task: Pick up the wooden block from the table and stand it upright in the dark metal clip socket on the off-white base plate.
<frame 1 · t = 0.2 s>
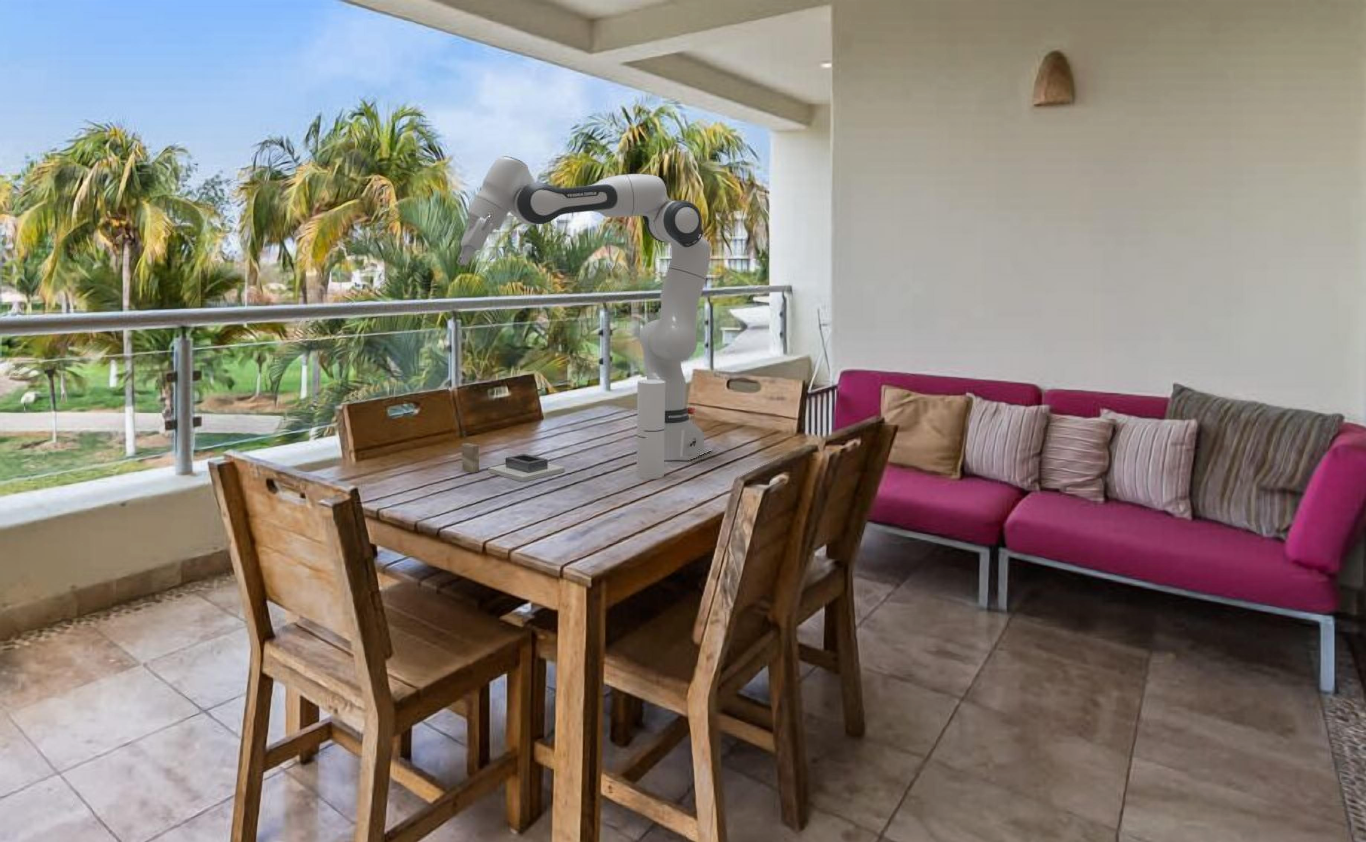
hand: (461, 264, 206), 54 cm above the table, tool tilted 30°, fingers open, 8 cm apart
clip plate: (526, 472, 215), on the table
cylindrical container: (650, 476, 214), on the table
clip socket: (526, 463, 215), on the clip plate, point 2 cm above the table
wooden block: (470, 470, 216), on the table
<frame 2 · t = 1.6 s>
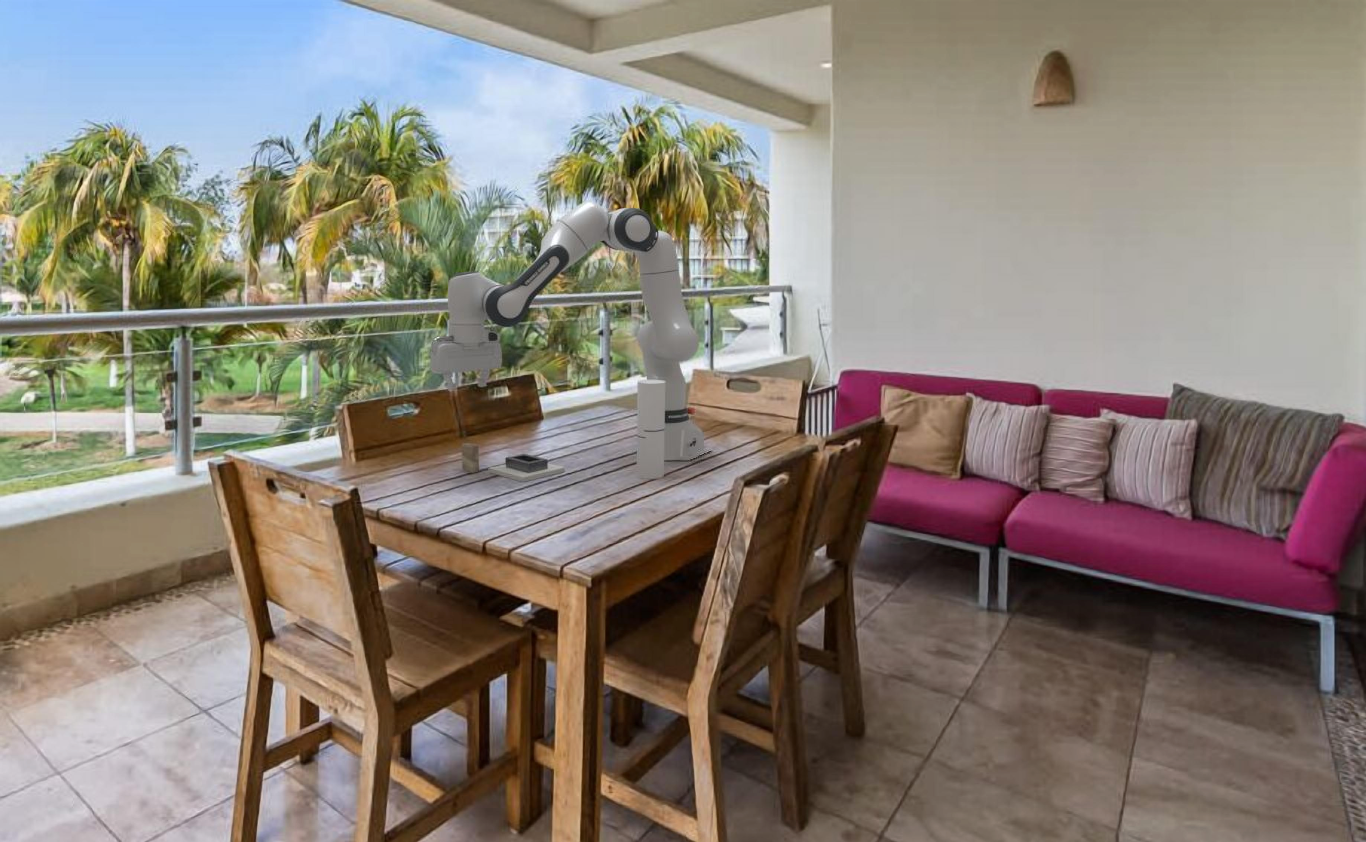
hand: (467, 388, 212), 22 cm above the table, tool pointing down, fingers open, 8 cm apart
nothing on the table moved.
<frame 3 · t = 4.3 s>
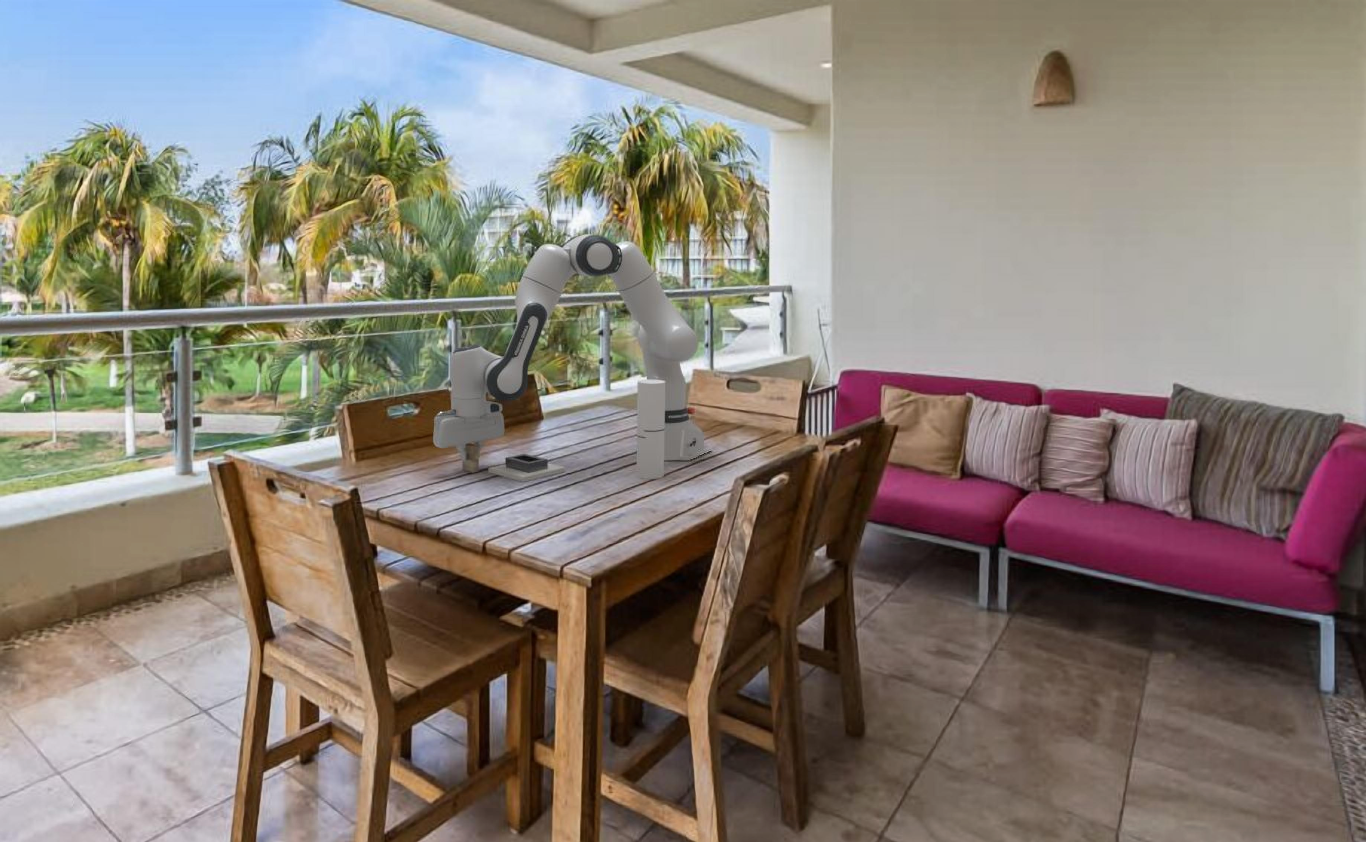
hand: (470, 459, 215), 3 cm above the table, tool pointing down, fingers closed on wooden block, 2 cm apart
wooden block: (470, 470, 216), on the table, touching gripper
everything else where it was.
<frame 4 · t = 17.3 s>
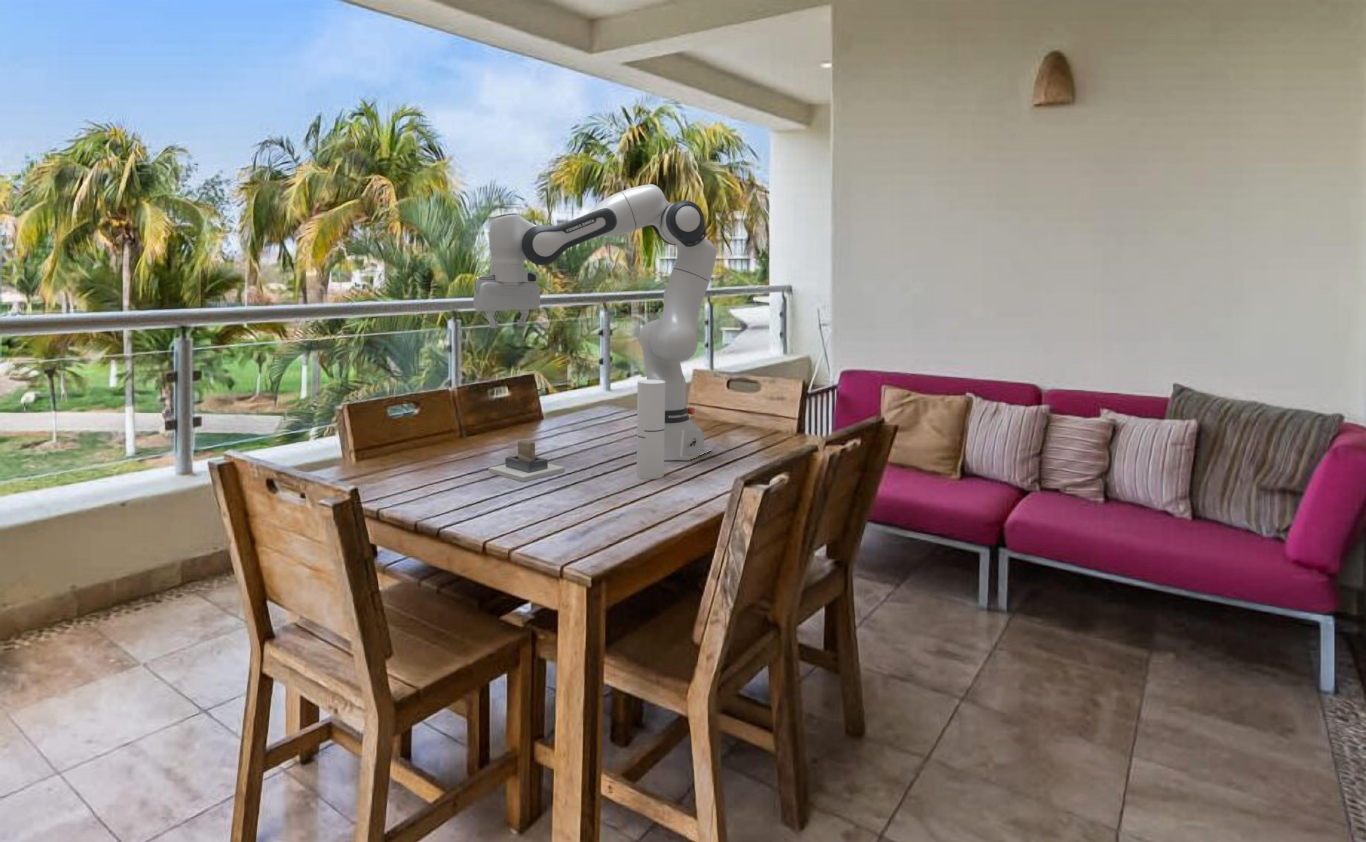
hand: (508, 327, 222), 37 cm above the table, tool pointing down, fingers open, 8 cm apart
wooden block: (526, 467, 215), point 1 cm above the table, touching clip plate
everything else where it was.
at the end: wooden block 0.1 cm off-centre on the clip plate, point 1.2 cm above the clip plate's base; wooden block tilted 0°; the gripper is holding nothing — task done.
